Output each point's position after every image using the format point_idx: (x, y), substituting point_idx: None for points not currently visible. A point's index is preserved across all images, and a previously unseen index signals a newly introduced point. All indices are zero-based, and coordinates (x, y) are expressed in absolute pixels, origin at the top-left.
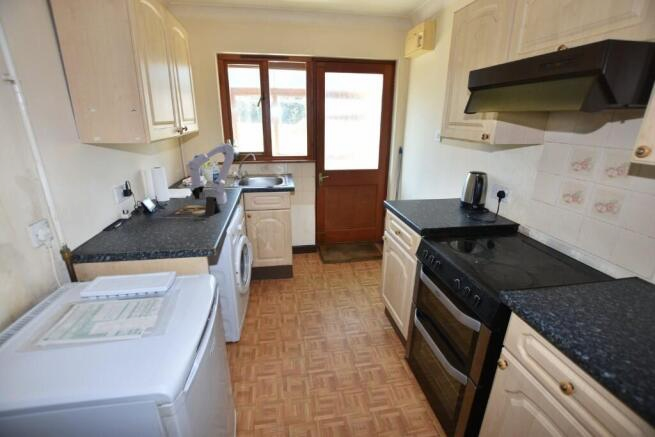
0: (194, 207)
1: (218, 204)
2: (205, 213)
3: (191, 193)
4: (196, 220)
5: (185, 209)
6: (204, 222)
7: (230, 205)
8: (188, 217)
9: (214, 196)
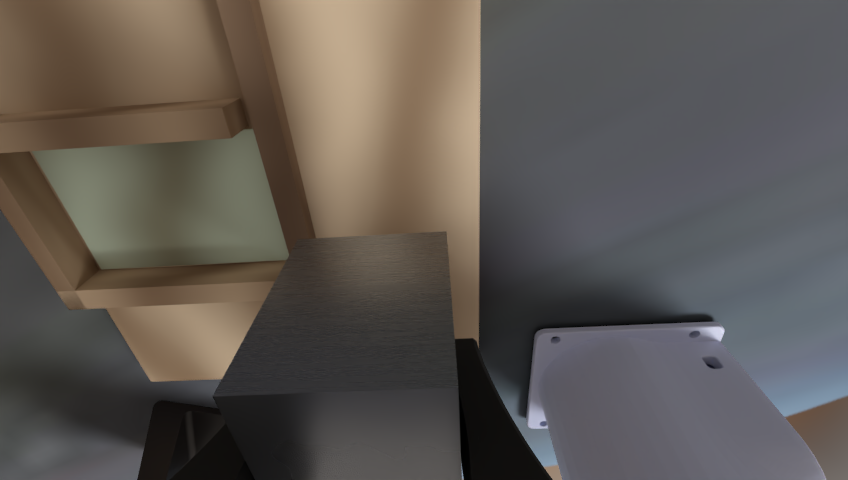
0: (367, 167)
1: (540, 395)
2: (149, 432)
3: (225, 394)
4: (18, 388)
5: (128, 140)
6: (30, 454)
7: (554, 456)
8: (25, 279)
9: (602, 470)
